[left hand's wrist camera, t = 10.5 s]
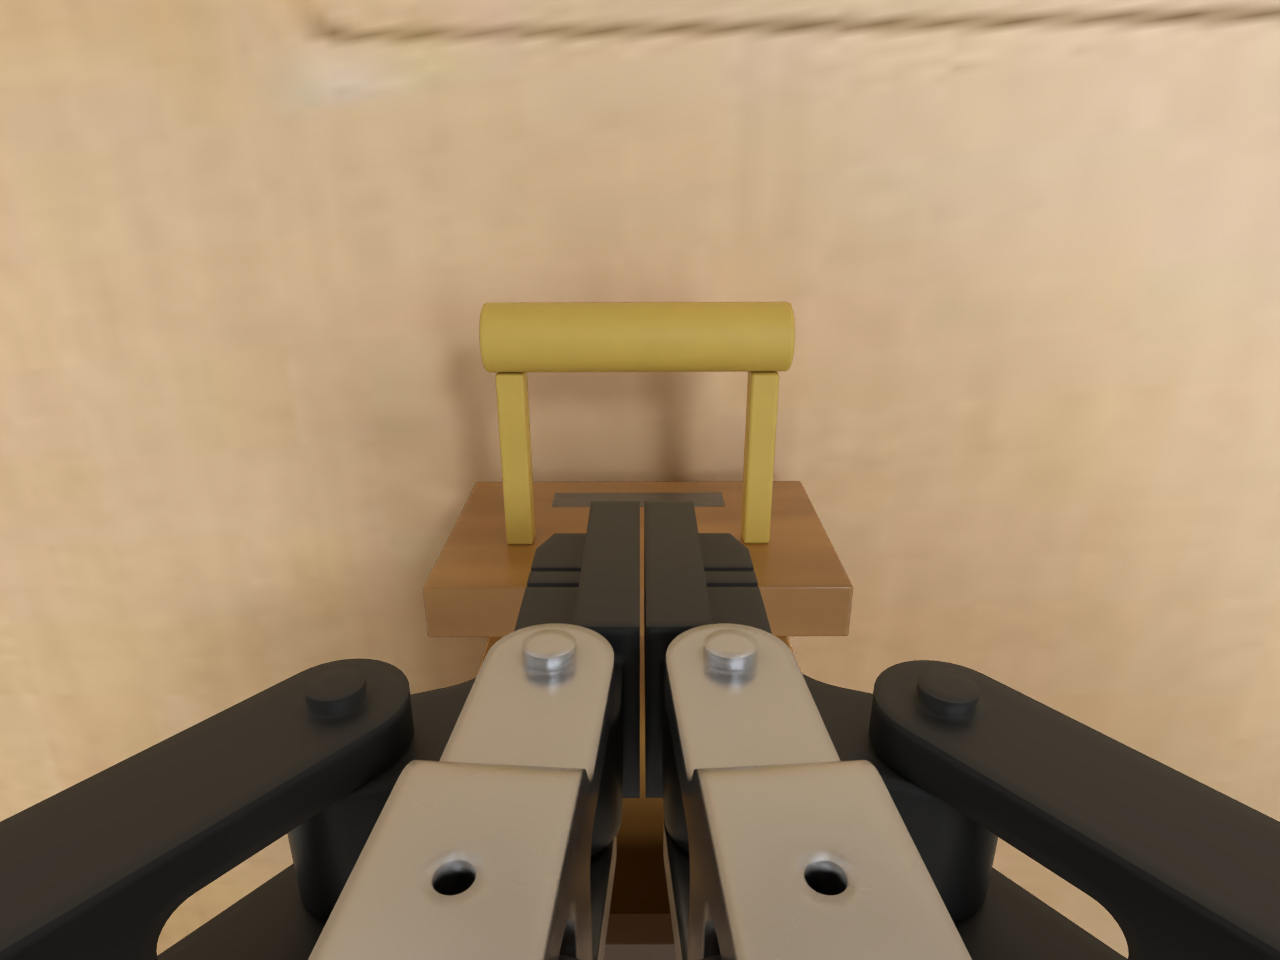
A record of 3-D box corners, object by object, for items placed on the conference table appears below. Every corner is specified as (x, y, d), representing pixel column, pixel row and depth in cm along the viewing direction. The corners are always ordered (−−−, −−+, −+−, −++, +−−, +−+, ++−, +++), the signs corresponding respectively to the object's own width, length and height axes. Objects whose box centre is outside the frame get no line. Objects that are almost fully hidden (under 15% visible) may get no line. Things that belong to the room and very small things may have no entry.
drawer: (459, 279, 21) (392, 323, 15) (815, 278, 21) (881, 322, 15) (516, 982, 30) (487, 1174, 24) (764, 981, 30) (793, 1174, 24)
